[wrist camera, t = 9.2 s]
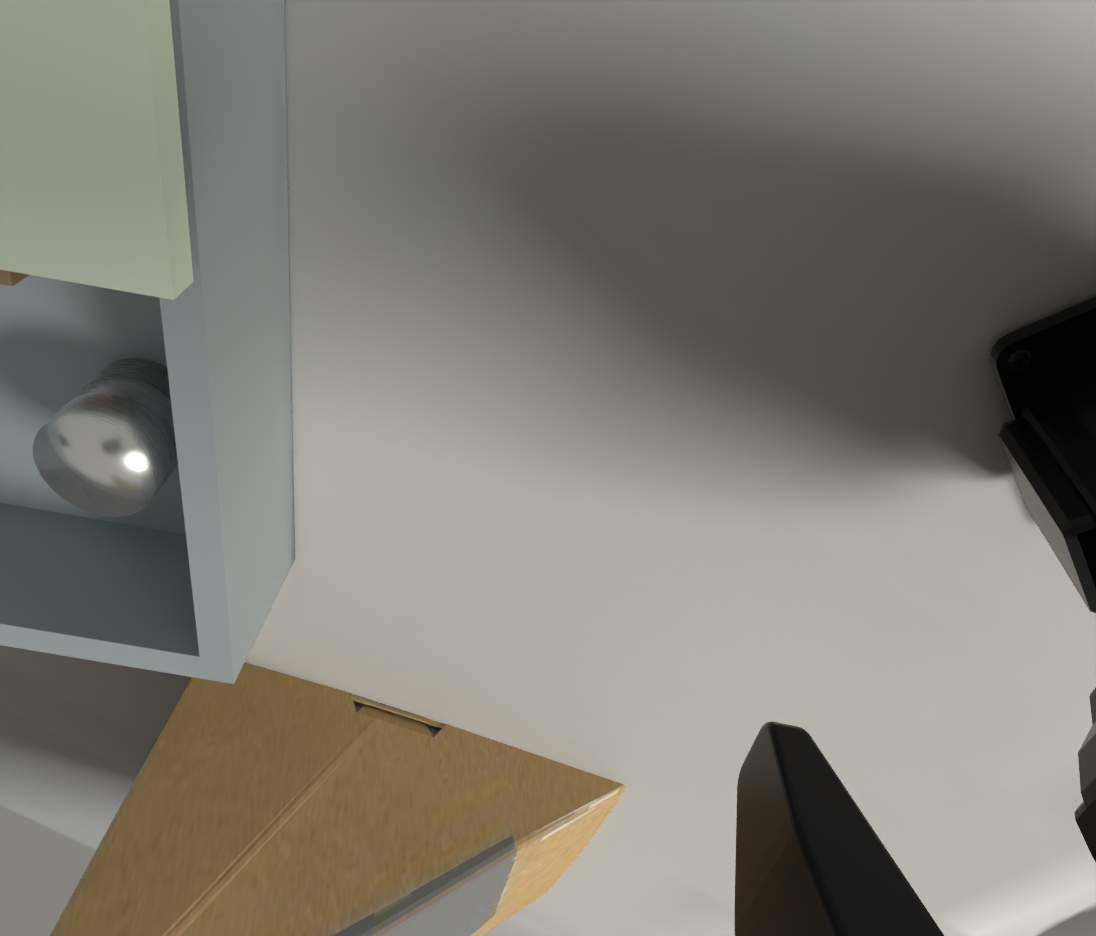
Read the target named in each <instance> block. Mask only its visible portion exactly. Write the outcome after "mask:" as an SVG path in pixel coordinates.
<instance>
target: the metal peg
mask: <svg viewBox="0 0 1096 936" xmlns="http://www.w3.org/2000/svg"><path fill="white" fill-rule="evenodd" d="M33 457H34V461H35V464H36V467H37V469H38V471H39V473H40V475H41V476H42V478H43V479H44V480H45V482H46V483H47V484H48V485H49V487H50V488H51V489H52V490H53V491H54V492H56V493H57V494H58V495H59V496H60V497H62V498H63V499H64V500H66V501H67V502H69V503H70V504H72V505H74V506H76V507H78V508H80V509H82V510H84V511H87V512H90V513H93V514H97V515H101V516H108V517H122V516H128V515H132V514H134V513H137V512H139V511H140V510H142V509H144V508H145V507H146V506H147V505H148V504H149V502H150V501H151V500H152V498H153V497H154V496H155V494H156V493H157V492H158V490H159V489H160V488H161V487H162V485H163V484H164V483H165V481H166V480H167V479H168V477H169V476H170V475H171V473H172V472H173V471H174V469H175V468H176V467H177V466H178V459H177V450H176V442H175V433H174V424H173V415H172V406H171V397H170V388H169V379H168V370H167V367H165V366H163V365H161V364H159V363H156V362H153V361H150V360H146V359H140V358H126V359H120V360H117V361H114V362H112V363H111V364H109V365H107V366H106V367H105V368H104V369H103V370H102V371H101V372H99V373H98V374H97V375H96V376H95V377H94V378H93V379H92V380H91V381H90V382H89V383H88V384H87V385H86V386H85V387H84V388H83V389H82V390H81V391H79V392H78V393H77V394H76V395H75V396H74V397H73V398H72V399H71V400H70V401H69V402H68V403H67V404H66V405H65V406H64V407H63V408H62V409H60V410H59V411H58V412H57V413H56V414H55V415H54V416H53V417H52V418H51V419H50V420H49V421H48V422H47V423H46V424H45V425H44V426H43V427H42V428H41V429H40V430H39V431H38V433H37V434H36V436H35V439H34V442H33Z"/></svg>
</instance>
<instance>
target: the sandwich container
mask: <svg viewBox="0 0 1096 936" xmlns="http://www.w3.org/2000/svg"><path fill="white" fill-rule="evenodd" d="M362 703H363V704H362ZM365 704H366V705H365ZM425 723H427V724H429V725H427V724H425ZM430 725H432V726H430ZM433 726H435V727H433ZM436 727H437V728H436ZM439 728H440V729H439ZM624 791H625V785H623V784H620V783H617V782H614V781H611V780H608V779H606V778H603V777H600V776H597V775H594V774H591V773H588V772H585V771H582V770H579V769H576V768H573V767H570V766H567V765H565V764H562V763H559V762H556V761H553V760H550V759H547V758H544V757H541V756H538V755H535V754H532V753H529V752H526V751H523V750H521V749H518V748H515V747H512V746H509V745H506V744H503V743H500V742H497V741H494V740H491V739H488V738H485V737H482V736H480V735H477V734H474V733H471V732H468V731H465V730H462V729H459V728H456V727H453V726H450V725H447V724H446V725H445V724H442V723H438V722H435V721H432V720H430V719H427V718H425V717H421V716H418V715H415V714H412V713H409V712H405V711H402V710H399V709H396V708H393V707H390V706H387V705H384V704H381V703H377V702H374V701H371V700H368V699H365V698H362V697H359V696H355V695H351V693H348V692H344V691H341V690H337V689H334V688H330V687H327V686H324V685H320V684H317V683H313V682H310V681H306V680H303V679H299V678H296V677H292V676H289V675H286V674H282V673H279V672H275V671H272V670H268V669H265V668H261V667H258V666H255V665H251V664H248V663H244V664H243V666H242V668H241V671H240V673H239V675H238V677H237V679H236V681H235V683H234V684H230V683H224V682H218V681H212V680H206V679H200V678H194V677H191V679H190V680H189V682H188V684H187V686H186V688H185V689H184V691H183V693H182V695H181V697H180V699H179V700H178V702H177V704H176V706H175V708H174V709H173V711H172V713H171V715H170V717H169V719H168V720H167V722H166V724H165V726H164V728H163V730H162V731H161V733H160V735H159V737H158V739H157V740H156V742H155V744H154V746H153V748H152V750H151V751H150V753H149V755H148V757H147V759H146V760H145V762H144V764H143V766H142V768H141V770H140V771H139V773H138V775H137V777H136V779H135V781H134V782H133V784H132V786H131V788H130V790H129V792H128V793H127V795H126V797H125V799H124V801H123V803H122V804H121V806H120V808H119V810H118V812H117V814H116V815H115V817H114V819H113V821H112V823H111V825H110V826H109V828H108V830H107V832H106V834H105V836H104V837H103V839H102V841H101V843H100V845H99V847H98V848H97V850H96V852H95V854H94V856H93V858H92V860H91V861H90V863H89V865H88V867H87V869H86V870H85V872H84V874H83V876H82V878H81V880H80V881H79V883H78V885H77V887H76V889H75V891H74V893H73V894H72V896H71V898H70V900H69V902H68V904H67V905H66V907H65V909H64V911H63V913H62V914H61V916H60V918H59V920H58V922H57V924H56V925H55V927H54V929H53V931H52V933H51V935H50V936H482V935H483V934H485V933H486V932H488V931H489V930H491V929H492V928H494V927H495V926H497V925H498V924H500V923H501V922H503V921H504V920H506V919H507V918H509V917H510V916H512V915H513V914H515V913H516V912H518V911H519V910H521V909H522V908H524V907H525V906H527V905H528V904H530V903H531V902H533V901H535V900H536V899H538V898H539V897H541V896H542V895H544V894H545V893H547V892H548V890H549V889H550V888H551V887H552V886H553V885H554V883H555V882H556V881H557V880H558V879H559V878H560V876H561V875H562V874H563V873H564V872H565V871H566V869H567V868H568V867H569V866H570V865H571V864H572V862H573V861H574V860H575V859H576V858H577V857H578V855H579V854H580V853H581V852H582V851H583V850H584V848H585V847H586V846H587V845H588V843H589V842H590V840H591V839H592V837H593V836H594V834H595V833H596V832H597V830H598V829H599V827H600V826H601V824H602V823H603V821H604V820H605V819H606V817H607V816H608V814H609V813H610V811H611V810H612V808H613V807H614V805H615V804H616V803H617V801H618V800H619V798H620V797H621V795H622V794H623V792H624Z"/></svg>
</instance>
